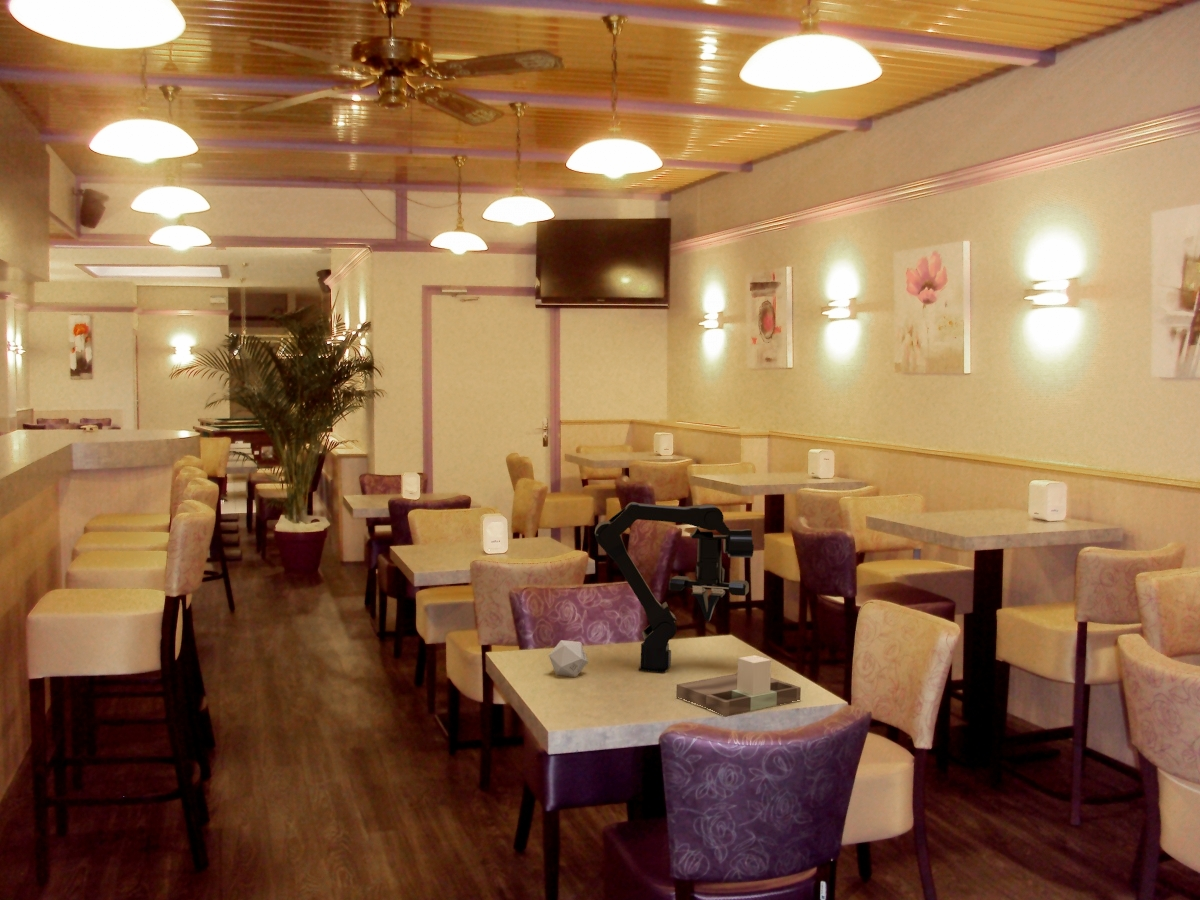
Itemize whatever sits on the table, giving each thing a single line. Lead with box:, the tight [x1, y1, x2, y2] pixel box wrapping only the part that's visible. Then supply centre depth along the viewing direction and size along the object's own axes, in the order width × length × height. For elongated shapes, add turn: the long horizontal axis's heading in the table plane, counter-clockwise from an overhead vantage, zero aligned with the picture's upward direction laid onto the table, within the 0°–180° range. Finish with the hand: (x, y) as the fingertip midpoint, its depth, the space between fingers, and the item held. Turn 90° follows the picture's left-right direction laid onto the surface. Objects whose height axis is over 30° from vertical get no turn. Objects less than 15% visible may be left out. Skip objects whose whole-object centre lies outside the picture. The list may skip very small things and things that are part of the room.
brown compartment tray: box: [675, 673, 802, 717], centre depth 239 cm, size 16×22×3 cm
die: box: [548, 639, 589, 678], centre depth 258 cm, size 8×9×10 cm
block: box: [736, 654, 772, 695], centre depth 235 cm, size 5×5×7 cm
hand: (707, 620), depth 264 cm, fingers closed
